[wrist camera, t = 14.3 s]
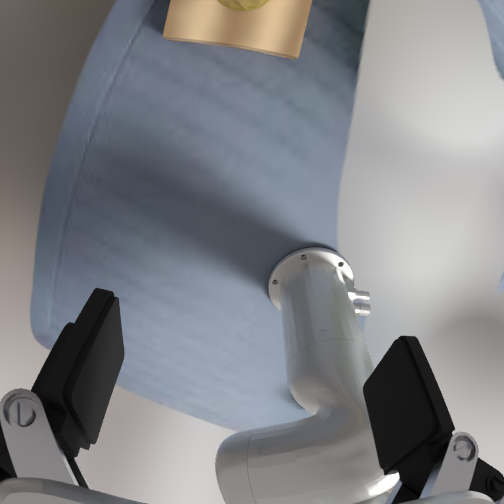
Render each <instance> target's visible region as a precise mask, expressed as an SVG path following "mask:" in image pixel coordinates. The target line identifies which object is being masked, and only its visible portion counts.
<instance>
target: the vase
mask: <svg viewBox="0 0 504 504" xmlns="http://www.w3.org/2000/svg"><path fill="white" fill-rule="evenodd" d="M218 1H219V2H220V3H221V4H223V5H224V6H226V7H227V8H230V9H233V10H237V11H250V10H254V9H257V8H260V7H262V6H263V5H265V4H266V3H267V2H268V1H269V0H218Z"/></svg>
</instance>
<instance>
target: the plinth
mask: <svg viewBox="0 0 504 504" xmlns="http://www.w3.org/2000/svg"><path fill="white" fill-rule="evenodd" d="M311 3H312V0H269V1H268V2H267V3H266V4H265V5H263V6H262V7H260V8H257V9H254V10H250V11H237V10H233V9H230V8H227V7H226V6H224V5H223V4H221V3H220V2H219V1H218V0H171V1H170V5H169V10H168V14H167V18H166V23H165V27H164V32H163V37H164V38H166V39H169V40H171V41H181V42H192V43H202V44H211V45H218V46H226V47H232V48H239V49H245V50H250V51H256V52H261V53H266V54H271V55H276V56H280V57H285V58H289V59H293V60H294V59H296V58H298V57H299V53H300V49H301V45H302V41H303V36H304V32H305V28H306V24H307V20H308V16H309V11H310V7H311Z"/></svg>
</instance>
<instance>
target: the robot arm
mask: <svg viewBox="0 0 504 504" xmlns="http://www.w3.org/2000/svg"><path fill="white" fill-rule="evenodd" d="M353 286H354V276H353V272H352V269H351V267H350V265H349V263H348V262H347V260H346V259H345V258H344V257H343V256H342V255H340V254H339V253H337V252H335V251H333V250H330V249H326V248H321V247H311V248H304V249H301V250H298V251H295V252H293V253H291V254H289V255H287V256H286V257H284V258H283V259H282V260H281V261H280V262H279V263H278V264H277V265H276V266H275V268H274V269H273V271H272V272H271V275H270V278H269V284H268V288H269V295H270V299H271V301H272V303H273V305H274V306H275V307H276V308H277V309H278V310H279V311H280V312H282V323H283V334H284V346H285V358H286V370H287V382H288V387H289V390H290V392H291V394H292V396H293V397H294V399H295V400H296V401H297V402H298V403H299V404H300V405H301V406H302V407H303V408H304V409H305V410H306V411H308V412H309V413H310V414H312V415H313V416H311V417H308V418H304V419H300V420H298V421H294V422H289V423H284V424H279V425H274V426H268V427H263V428H258V429H252V430H247V431H242V432H239V433H236V434H233V435H231V436H229V437H228V438H226V439H225V440H224V441H223V442H222V443H221V445H220V447H219V449H218V451H217V454H216V460H215V470H216V477H217V482H218V485H219V488H220V491H221V494H222V496H223V498H224V501H225V503H226V504H504V477H503V475H502V474H501V473H500V472H499V471H498V470H496V469H495V468H493V467H492V466H490V465H489V464H487V463H486V462H484V461H483V460H481V459H480V458H478V452H479V451H478V445H477V443H476V441H475V440H474V438H473V437H472V436H471V435H469V434H468V433H465V432H458V433H455V434H454V435H453V434H452V432H453V431H454V430H455V427H454V425H453V422H452V419H451V417H450V414H449V411H448V409H447V406H446V404H445V401H444V399H443V396H442V393H441V391H440V389H439V386H438V384H437V381H436V379H435V377H434V374H433V372H432V369H431V367H430V365H429V363H428V361H427V358H426V356H425V354H424V352H423V349H422V347H421V345H420V343H419V341H418V339H417V338H416V337H415V336H400V337H399V338H398V339H397V340H395V341H394V342H393V344H392V345H391V347H390V348H389V350H388V351H387V353H386V354H385V355H384V357H383V359H382V360H381V361H380V363H379V364H378V365H377V367H376V368H375V369H374V366H373V363H372V359H371V356H370V353H369V350H368V347H367V344H366V341H365V338H364V335H363V332H362V329H361V326H360V323H359V320H358V317H357V315H359V316H368V315H369V314H370V310H371V307H370V305H369V304H365V303H354V302H352V301H353V300H354V299H359V300H363V301H368V300H369V296H370V294H369V292H366V291H357V290H356V289H355V288H354V287H353ZM123 360H124V344H123V336H122V327H121V317H120V307H119V298H118V297H114V293H113V292H112V291H108V290H104V289H99V288H96V289H94V291H93V292H92V294H91V296H90V297H89V299H88V301H87V302H86V304H85V306H84V307H83V309H82V311H81V313H80V314H79V316H78V318H77V320H76V321H75V323H71V322H69V323H68V324H66V326H65V327H64V328H63V330H62V332H61V334H60V336H59V337H58V339H57V341H56V343H55V344H54V346H53V348H52V350H51V352H50V354H49V356H48V358H47V359H46V361H45V363H44V365H43V367H42V369H41V371H40V373H39V375H38V377H37V379H36V381H35V383H34V385H33V387H32V389H31V391H30V390H27V389H22V388H20V389H14V390H12V391H10V392H8V393H7V394H6V395H5V396H4V397H3V398H2V400H1V402H0V504H146V503H141V502H137V501H133V500H128V499H124V498H120V497H117V496H113V495H109V494H106V493H102V492H98V491H94V490H92V489H91V487H90V485H89V484H88V481H87V480H86V478H85V476H84V474H83V472H82V470H81V468H80V466H79V464H78V461H77V459H76V457H77V456H78V453H79V449H80V447H81V448H84V449H87V450H89V447H90V444H95V443H96V441H97V438H98V435H99V432H100V428H101V425H102V422H103V419H104V416H105V413H106V410H107V407H108V404H109V400H110V398H111V395H112V392H113V389H114V386H115V383H116V380H117V377H118V374H119V371H120V369H121V366H122V363H123ZM395 484H396V485H395ZM394 485H395V487H394V489H393V490H392V492H391V493H389V492H388V491H387V490H389V489H390V488H391V487H393V486H394Z"/></svg>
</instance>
